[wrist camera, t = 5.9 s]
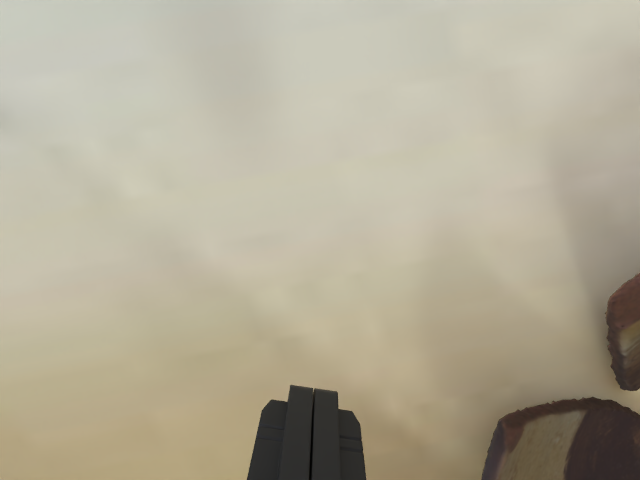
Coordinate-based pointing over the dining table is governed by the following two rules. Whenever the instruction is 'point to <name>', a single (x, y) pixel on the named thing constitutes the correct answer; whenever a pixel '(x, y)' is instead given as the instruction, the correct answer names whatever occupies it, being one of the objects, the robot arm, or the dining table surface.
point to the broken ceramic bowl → (579, 419)
